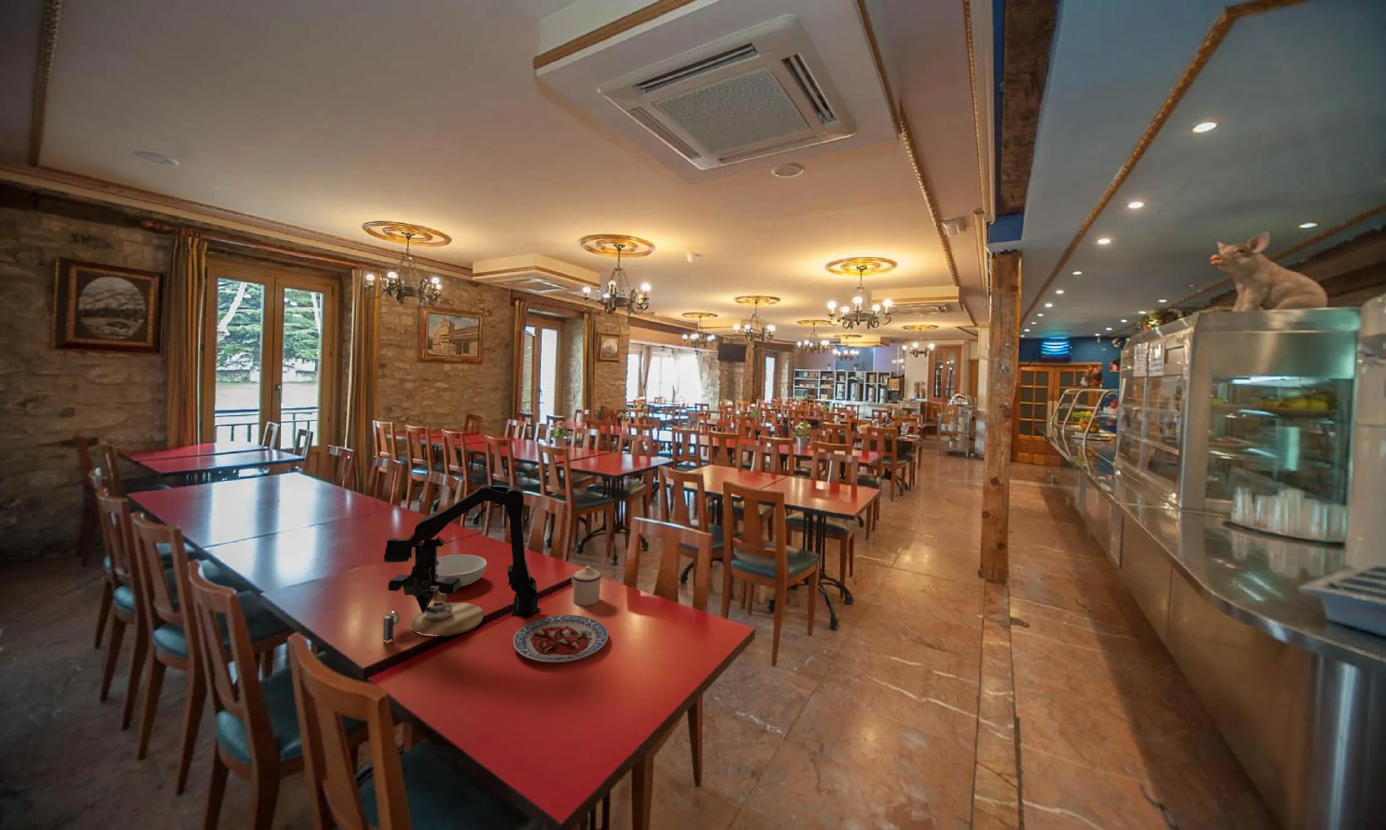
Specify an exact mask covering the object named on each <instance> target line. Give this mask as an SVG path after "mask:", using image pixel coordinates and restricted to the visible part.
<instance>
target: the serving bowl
mask: <svg viewBox="0 0 1386 830" xmlns="http://www.w3.org/2000/svg"><path fill="white" fill-rule="evenodd" d="M437 561H439V564H438V565H437V569H436V574H438V578H437V579H436V580H439V581H443V580H445V579H446V578H447V577H454V578H459V579H460V580H461V586H460V587H459V588H461V587H465V586H468V585H471V584H473V583H475V582H476V581H478V580H479V579H480V578H482V576H483V575H484V573H485V572H486V569H487V565H488V564H487V563H488V562H487V560H486V559H485V558H484V557H482V556H478V555H473V554H450V555H442V556H437Z"/></svg>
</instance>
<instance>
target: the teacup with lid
mask: <svg viewBox="0 0 1386 830" xmlns="http://www.w3.org/2000/svg"><path fill="white" fill-rule="evenodd" d="M601 579H602V574H601V572H600V571H599V570H595V569H593V568H591V566H590V565H586V566H585V567H584V568H582V569H580V570H578V571H575V572H574V574H573V575H572V576H571V586H572V588H573V592H572V593H573V594H572V595H573V597H572V600H573V603H574V604H575V605H578V606H583V607H588V606H589V607H591V606H593V605H596V604H597V603H599V600H600V594H601V593H600V592H601V590H600V589H601V587H600V586H601Z"/></svg>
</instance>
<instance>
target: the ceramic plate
mask: <svg viewBox="0 0 1386 830" xmlns="http://www.w3.org/2000/svg"><path fill="white" fill-rule="evenodd" d="M608 638H609V633H608V630H607V628H606V627H605V626H604V624H603V623H601V622H599V621H598V620H595V619H593V618H590V617H587V616H584V615H583V616H582V615H577V614H576V615H575V614H574V615H573V614H560V615H559V614H558V615H552V616H547V617H545V616H544V617H542V618H538V619H536V620H533V621H531V622H529V623H527V624H525V625H523V626H522V627H521V628H520V629H519V630H517V632H516V633H515V634H514V636H513V639H512V643H513V647H514V649H515V651H516V652H517V653H518V654H520V655H521V656H524V658H527V659H530V660H534V661H537V662H543V663H566V662H571V661H576V660H580V659H584V658H586V657H589V656H591V655H592V654H595V653H596V652H598V651H600V650H601V649H602V648H603V647H604V646H605V644H607V641H608Z"/></svg>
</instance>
